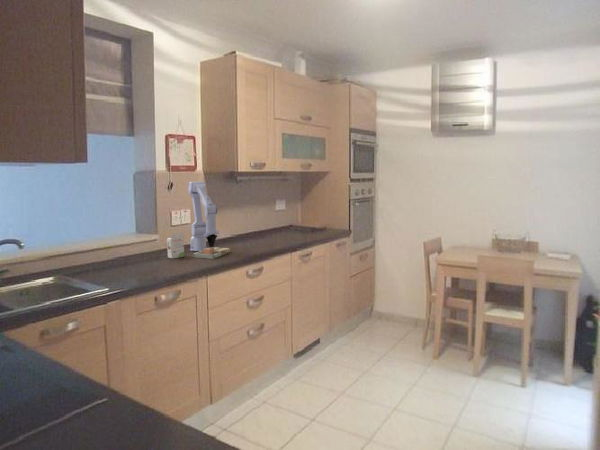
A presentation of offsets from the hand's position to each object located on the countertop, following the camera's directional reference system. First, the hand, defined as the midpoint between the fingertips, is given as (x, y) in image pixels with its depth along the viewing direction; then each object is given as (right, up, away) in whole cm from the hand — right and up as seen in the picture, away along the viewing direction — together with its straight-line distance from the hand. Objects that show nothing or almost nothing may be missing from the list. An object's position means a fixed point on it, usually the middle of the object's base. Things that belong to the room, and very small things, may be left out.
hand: (211, 247), depth 271 cm
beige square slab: (+2, -4, +6) cm, 7 cm away
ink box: (-20, -6, -6) cm, 22 cm away
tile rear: (-1, -3, -3) cm, 4 cm away
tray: (-2, -6, -5) cm, 7 cm away
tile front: (-2, -5, -5) cm, 7 cm away
